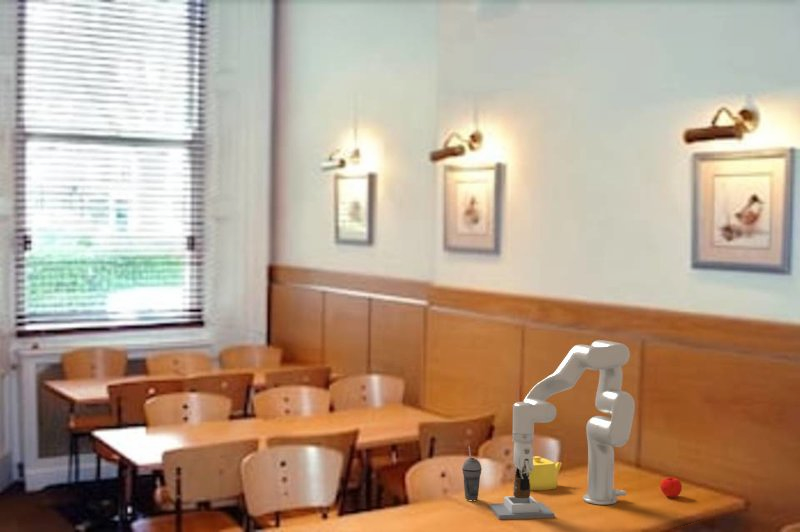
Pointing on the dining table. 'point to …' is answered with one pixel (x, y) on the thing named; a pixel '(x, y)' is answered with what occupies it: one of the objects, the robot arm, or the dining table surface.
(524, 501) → the dock
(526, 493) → the utensil holder
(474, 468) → the beverage cup
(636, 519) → the dining table surface
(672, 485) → the apple
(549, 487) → the teapot
